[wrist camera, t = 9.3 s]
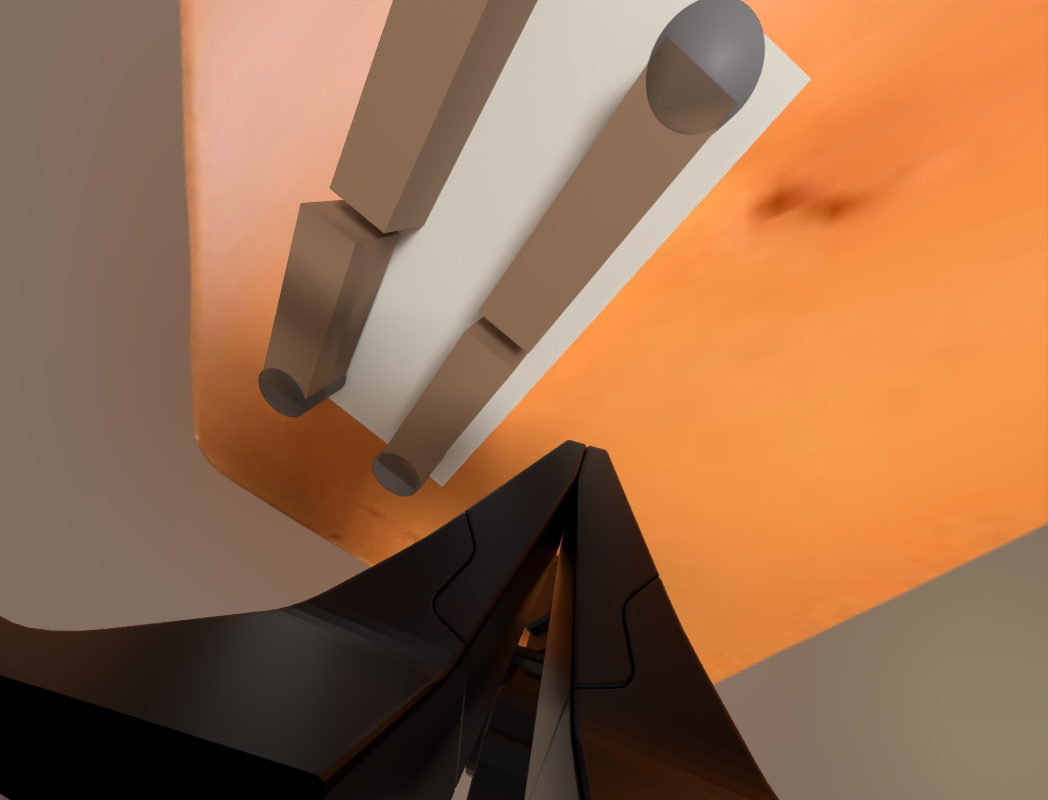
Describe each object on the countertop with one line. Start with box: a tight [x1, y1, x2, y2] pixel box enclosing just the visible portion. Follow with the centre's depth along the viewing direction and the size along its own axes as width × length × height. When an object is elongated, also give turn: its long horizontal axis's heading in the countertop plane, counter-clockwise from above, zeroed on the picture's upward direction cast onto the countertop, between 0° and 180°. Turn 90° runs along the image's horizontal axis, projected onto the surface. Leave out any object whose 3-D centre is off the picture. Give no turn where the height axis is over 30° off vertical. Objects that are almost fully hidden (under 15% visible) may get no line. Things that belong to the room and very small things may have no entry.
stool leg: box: [259, 200, 399, 417], centre depth 19 cm, size 11×3×3 cm, turn 148°
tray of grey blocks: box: [328, 0, 811, 496], centre depth 18 cm, size 12×24×5 cm, turn 144°
